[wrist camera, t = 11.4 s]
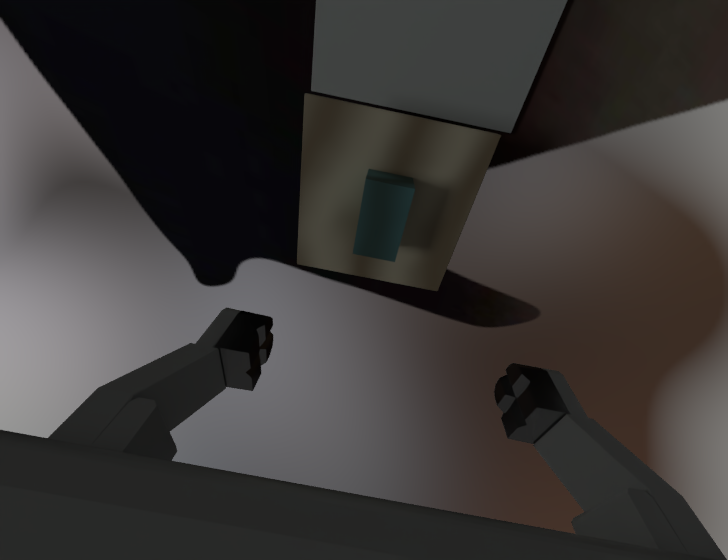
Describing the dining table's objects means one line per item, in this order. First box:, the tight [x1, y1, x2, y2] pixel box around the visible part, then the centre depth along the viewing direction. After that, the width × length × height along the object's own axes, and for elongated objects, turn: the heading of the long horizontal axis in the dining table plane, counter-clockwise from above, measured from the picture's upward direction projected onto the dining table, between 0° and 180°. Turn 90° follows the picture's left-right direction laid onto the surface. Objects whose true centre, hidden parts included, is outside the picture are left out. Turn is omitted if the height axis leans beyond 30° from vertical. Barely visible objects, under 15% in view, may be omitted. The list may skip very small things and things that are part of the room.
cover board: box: [297, 93, 501, 291], centre depth 23 cm, size 14×14×4 cm
